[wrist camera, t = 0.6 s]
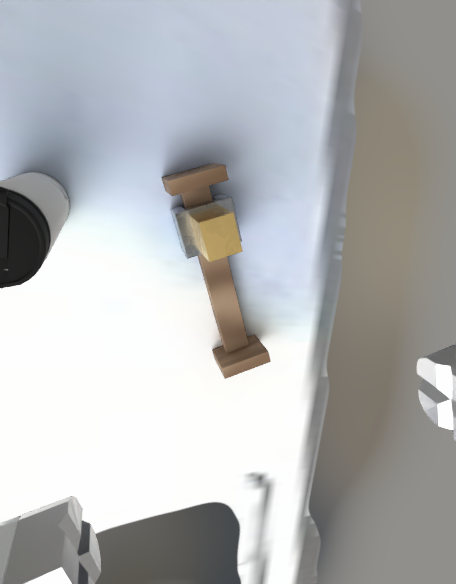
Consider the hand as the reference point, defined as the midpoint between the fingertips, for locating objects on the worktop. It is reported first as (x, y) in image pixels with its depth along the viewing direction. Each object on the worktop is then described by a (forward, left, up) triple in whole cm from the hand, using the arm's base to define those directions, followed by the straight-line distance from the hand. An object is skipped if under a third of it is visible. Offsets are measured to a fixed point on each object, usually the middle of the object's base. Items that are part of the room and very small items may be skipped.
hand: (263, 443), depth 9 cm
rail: (+10, +7, -40) cm, 42 cm away
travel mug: (-3, -9, -40) cm, 41 cm away
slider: (+4, +7, -40) cm, 41 cm away
